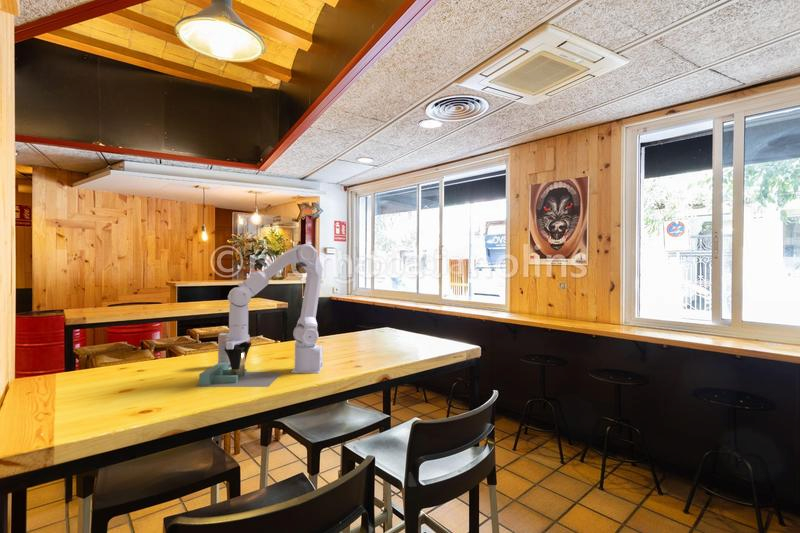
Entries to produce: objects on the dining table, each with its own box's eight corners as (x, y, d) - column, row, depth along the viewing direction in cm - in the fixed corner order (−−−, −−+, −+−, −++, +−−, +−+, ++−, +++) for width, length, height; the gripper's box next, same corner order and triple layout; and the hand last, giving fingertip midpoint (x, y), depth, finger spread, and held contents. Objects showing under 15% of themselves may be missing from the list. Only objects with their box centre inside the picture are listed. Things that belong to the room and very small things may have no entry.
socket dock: (249, 372, 131) (249, 362, 131) (232, 385, 117) (232, 374, 117) (219, 372, 131) (219, 362, 131) (199, 385, 117) (199, 373, 117)
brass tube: (246, 372, 126) (246, 350, 126) (242, 375, 122) (242, 353, 122) (234, 372, 126) (234, 350, 126) (229, 375, 122) (229, 353, 122)
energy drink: (237, 365, 141) (237, 332, 141) (229, 369, 136) (229, 335, 136) (223, 365, 141) (223, 332, 141) (214, 368, 136) (215, 334, 136)
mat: (282, 372, 132) (282, 372, 132) (268, 387, 116) (268, 386, 116) (217, 372, 132) (217, 372, 132) (194, 387, 116) (194, 386, 116)
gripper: (234, 321, 131) (234, 361, 131) (216, 328, 116) (215, 373, 116) (256, 321, 131) (255, 361, 131) (239, 328, 117) (239, 373, 117)
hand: (238, 367), depth 124 cm, fingers closed on brass tube, 4 cm apart
